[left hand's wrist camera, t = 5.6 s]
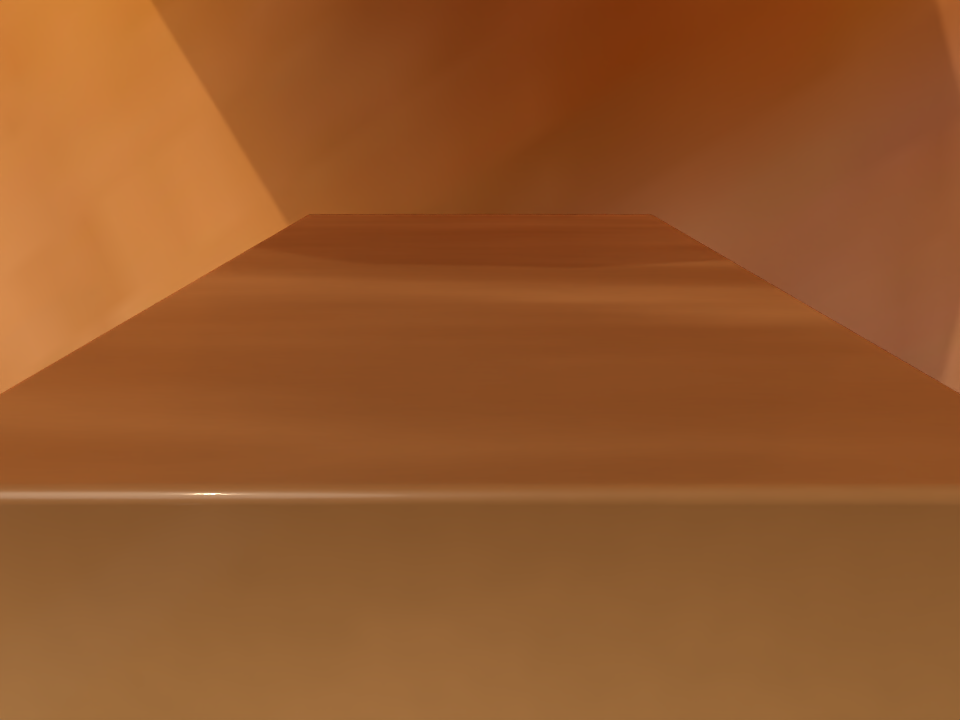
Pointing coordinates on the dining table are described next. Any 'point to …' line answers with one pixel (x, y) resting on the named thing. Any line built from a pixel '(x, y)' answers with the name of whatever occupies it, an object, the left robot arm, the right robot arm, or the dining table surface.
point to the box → (480, 492)
